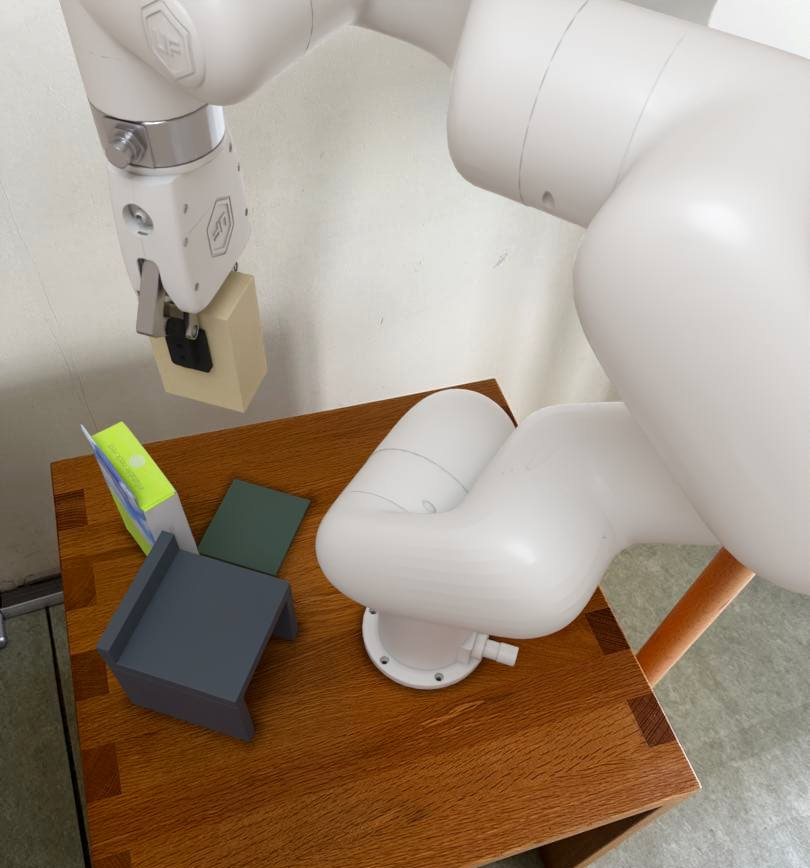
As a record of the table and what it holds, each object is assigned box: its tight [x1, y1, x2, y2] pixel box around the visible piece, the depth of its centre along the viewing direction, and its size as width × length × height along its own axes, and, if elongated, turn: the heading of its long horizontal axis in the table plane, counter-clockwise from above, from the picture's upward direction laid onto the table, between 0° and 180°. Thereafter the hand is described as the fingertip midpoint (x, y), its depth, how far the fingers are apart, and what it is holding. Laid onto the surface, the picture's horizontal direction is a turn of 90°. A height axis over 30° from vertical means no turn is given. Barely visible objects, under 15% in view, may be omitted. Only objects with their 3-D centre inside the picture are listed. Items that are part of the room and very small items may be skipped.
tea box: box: [136, 270, 268, 414], centre depth 65 cm, size 5×7×10 cm
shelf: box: [95, 530, 299, 743], centre depth 75 cm, size 12×12×12 cm
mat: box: [197, 478, 311, 578], centre depth 89 cm, size 9×10×1 cm
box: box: [79, 420, 200, 557], centre depth 80 cm, size 10×4×17 cm, turn 39°
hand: (208, 338), depth 65 cm, fingers closed on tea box, 5 cm apart
